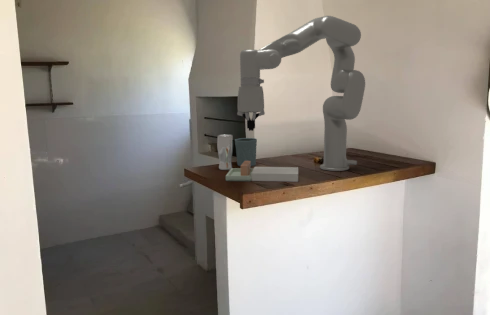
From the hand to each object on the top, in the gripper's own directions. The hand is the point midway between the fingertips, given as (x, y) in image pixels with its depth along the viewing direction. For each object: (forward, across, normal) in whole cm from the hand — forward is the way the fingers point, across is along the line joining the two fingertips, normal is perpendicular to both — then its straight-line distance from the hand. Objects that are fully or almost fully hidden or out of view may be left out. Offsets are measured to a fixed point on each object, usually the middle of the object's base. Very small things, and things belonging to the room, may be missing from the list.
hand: (251, 130), depth 165 cm
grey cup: (+20, +6, -28) cm, 34 cm away
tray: (+19, +5, -2) cm, 20 cm away
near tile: (+16, +2, +1) cm, 16 cm away
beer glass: (+19, +14, -18) cm, 30 cm away
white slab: (+19, -9, -2) cm, 21 cm away
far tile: (+16, +1, -5) cm, 17 cm away
